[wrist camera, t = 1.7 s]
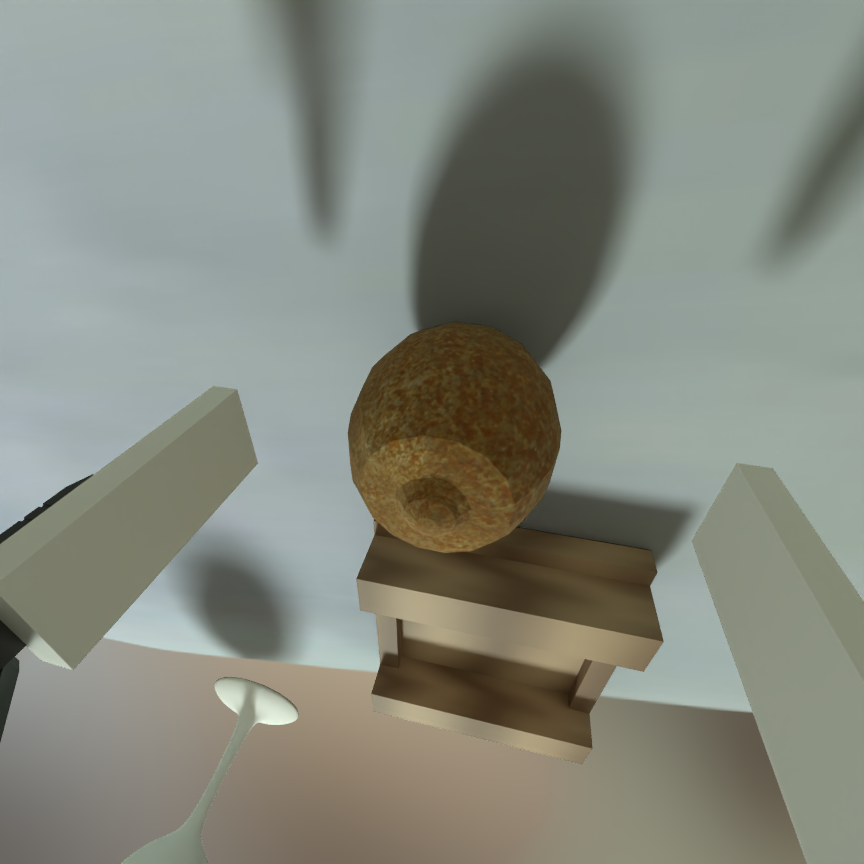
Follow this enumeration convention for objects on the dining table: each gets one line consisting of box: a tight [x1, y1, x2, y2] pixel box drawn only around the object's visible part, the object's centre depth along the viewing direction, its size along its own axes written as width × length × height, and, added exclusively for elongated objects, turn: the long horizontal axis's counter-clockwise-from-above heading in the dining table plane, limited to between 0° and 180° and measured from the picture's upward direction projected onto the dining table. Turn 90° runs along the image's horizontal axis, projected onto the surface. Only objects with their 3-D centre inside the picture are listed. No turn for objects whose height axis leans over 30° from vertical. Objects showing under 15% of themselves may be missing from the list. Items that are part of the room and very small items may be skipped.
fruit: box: [348, 322, 561, 553], centre depth 13 cm, size 6×6×8 cm
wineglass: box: [121, 677, 298, 864], centre depth 32 cm, size 9×9×21 cm
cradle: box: [356, 519, 664, 764], centre depth 23 cm, size 13×16×4 cm
